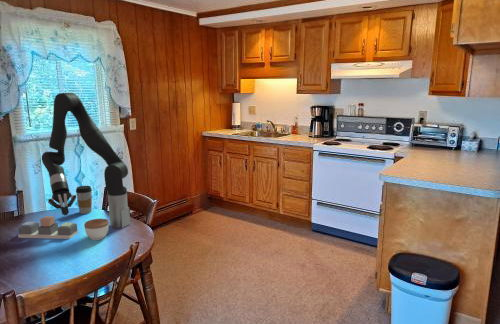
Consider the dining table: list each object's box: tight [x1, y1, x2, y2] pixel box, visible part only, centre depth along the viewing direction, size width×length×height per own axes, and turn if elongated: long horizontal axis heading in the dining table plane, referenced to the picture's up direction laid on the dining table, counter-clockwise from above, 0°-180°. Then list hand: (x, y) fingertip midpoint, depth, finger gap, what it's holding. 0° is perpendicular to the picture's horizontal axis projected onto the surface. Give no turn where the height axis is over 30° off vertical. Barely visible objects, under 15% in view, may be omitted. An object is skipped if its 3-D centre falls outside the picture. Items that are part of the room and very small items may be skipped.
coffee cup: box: [75, 185, 93, 215], centre depth 204 cm, size 8×8×15 cm
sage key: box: [59, 222, 75, 228], centre depth 171 cm, size 4×4×4 cm
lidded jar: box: [84, 218, 110, 241], centre depth 169 cm, size 11×11×9 cm
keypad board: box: [17, 222, 79, 240], centre depth 172 cm, size 25×8×5 cm, turn 88°
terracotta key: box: [39, 215, 56, 227], centre depth 171 cm, size 4×4×4 cm
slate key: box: [20, 221, 37, 227], centre depth 172 cm, size 4×4×4 cm
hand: (65, 214), depth 170 cm, fingers closed
